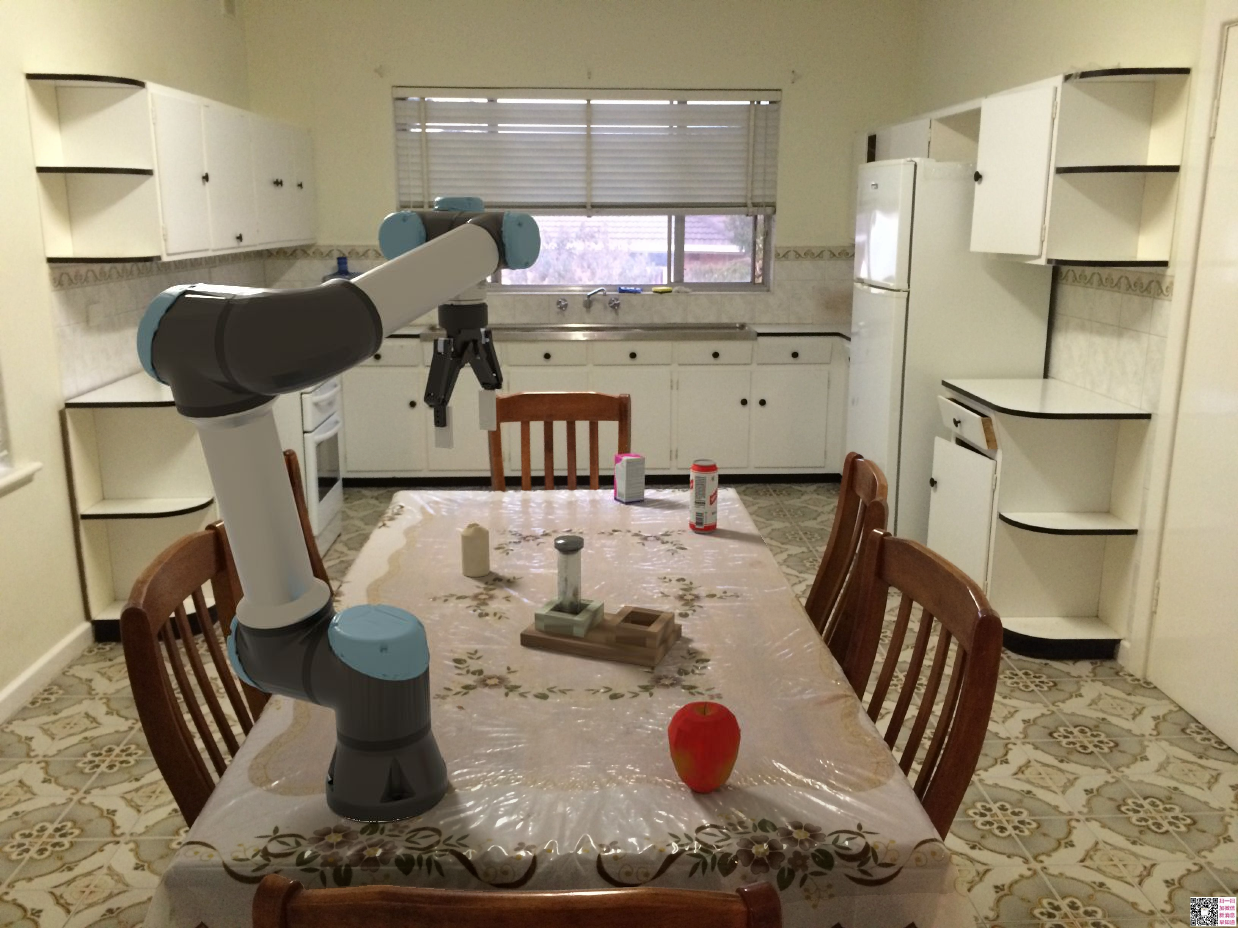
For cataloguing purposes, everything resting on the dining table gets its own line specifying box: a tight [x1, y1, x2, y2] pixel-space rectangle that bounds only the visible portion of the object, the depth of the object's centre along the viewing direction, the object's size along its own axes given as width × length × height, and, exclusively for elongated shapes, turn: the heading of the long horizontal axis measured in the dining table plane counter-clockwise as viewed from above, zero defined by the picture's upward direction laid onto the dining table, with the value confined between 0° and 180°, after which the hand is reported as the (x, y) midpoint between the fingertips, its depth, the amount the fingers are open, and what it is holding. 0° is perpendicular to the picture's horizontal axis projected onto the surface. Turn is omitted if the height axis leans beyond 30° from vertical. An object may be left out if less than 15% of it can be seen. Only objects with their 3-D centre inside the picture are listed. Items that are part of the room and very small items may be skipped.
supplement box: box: [613, 452, 646, 505], centre depth 263 cm, size 6×6×12 cm
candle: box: [460, 522, 491, 578], centre depth 212 cm, size 6×6×10 cm
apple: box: [666, 700, 742, 794], centre depth 135 cm, size 9×9×12 cm
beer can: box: [688, 458, 719, 534], centre depth 239 cm, size 6×6×16 cm
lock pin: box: [553, 534, 585, 615], centre depth 181 cm, size 5×5×15 cm
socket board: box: [519, 594, 683, 668], centre depth 181 cm, size 14×24×5 cm, turn 68°
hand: (467, 438), depth 166 cm, fingers open, 13 cm apart
